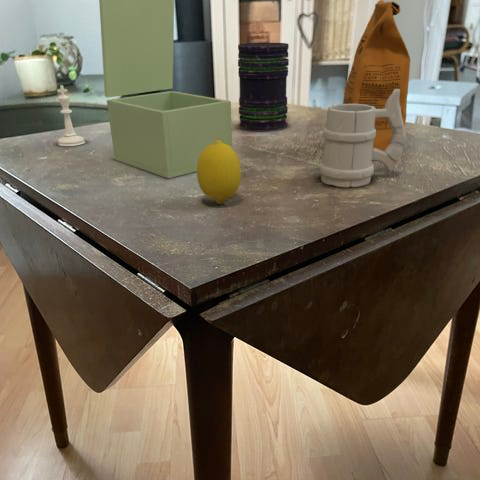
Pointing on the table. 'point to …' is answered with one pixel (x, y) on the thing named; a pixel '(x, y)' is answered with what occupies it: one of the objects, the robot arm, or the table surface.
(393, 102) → the mug
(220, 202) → the lemon
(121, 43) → the lid
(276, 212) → the table surface
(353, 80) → the coffee package
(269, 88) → the storage jar
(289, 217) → the table surface
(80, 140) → the chess piece
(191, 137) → the box
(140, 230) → the table surface
